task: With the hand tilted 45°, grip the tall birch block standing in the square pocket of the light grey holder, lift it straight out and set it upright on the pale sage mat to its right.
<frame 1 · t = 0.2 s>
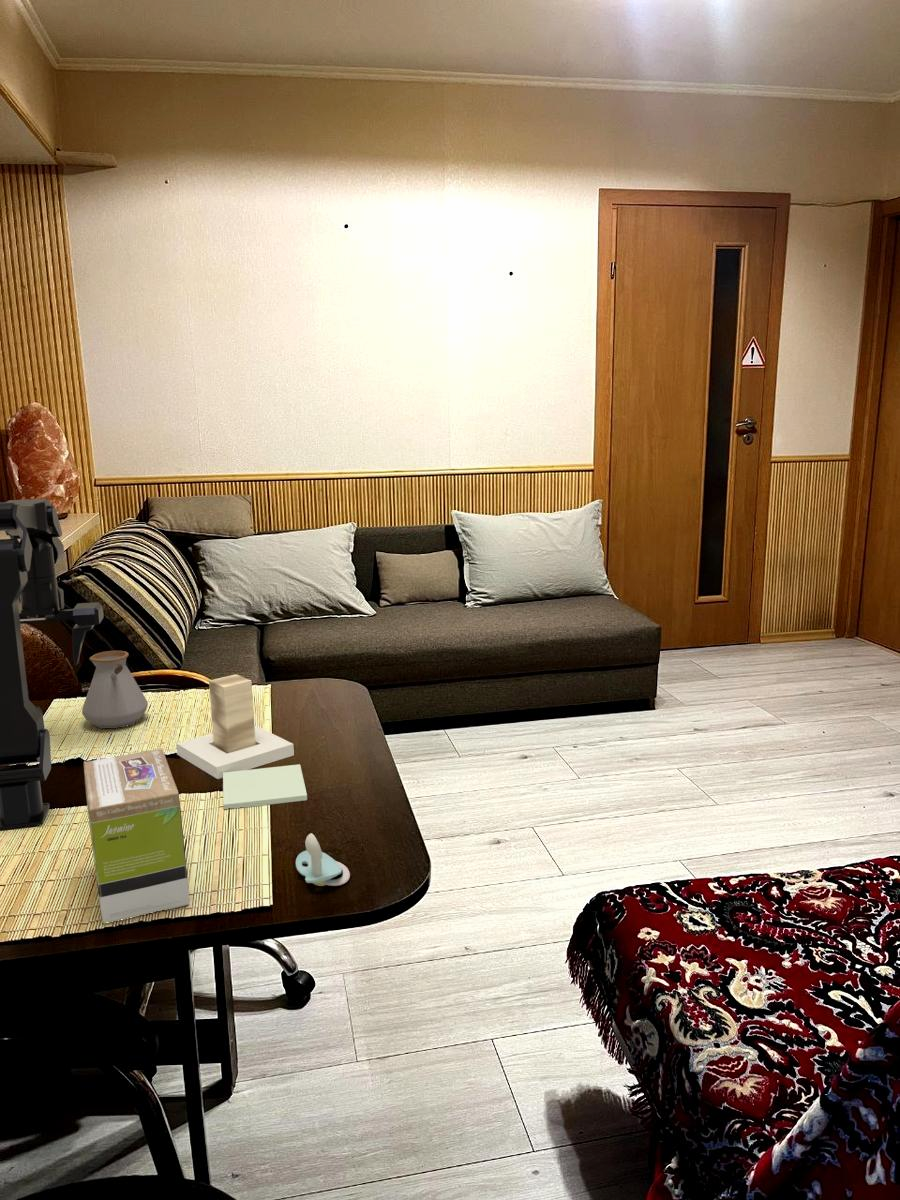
hand: (47, 666, 154), 15 cm above the table, tool pointing down, fingers open, 9 cm apart
coffee pot: (120, 731, 165), on the table
sage mat: (264, 788, 139), on the table
pacifier: (325, 879, 113), on the table
pocket holder: (235, 754, 153), on the table
birch block: (235, 755, 153), resting in pocket holder
tea box: (140, 887, 112), on the table
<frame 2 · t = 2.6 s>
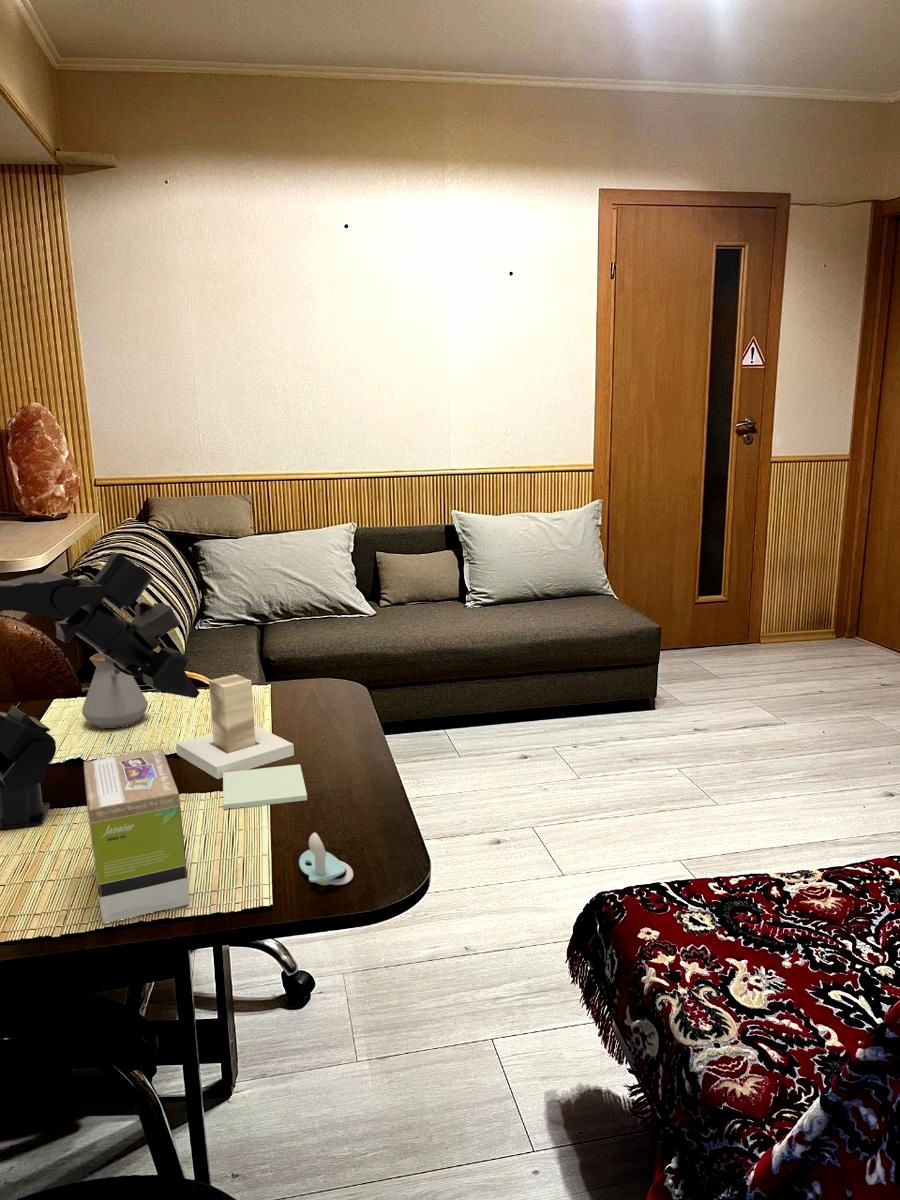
hand: (183, 688, 145), 13 cm above the table, tool tilted 45°, fingers open, 9 cm apart
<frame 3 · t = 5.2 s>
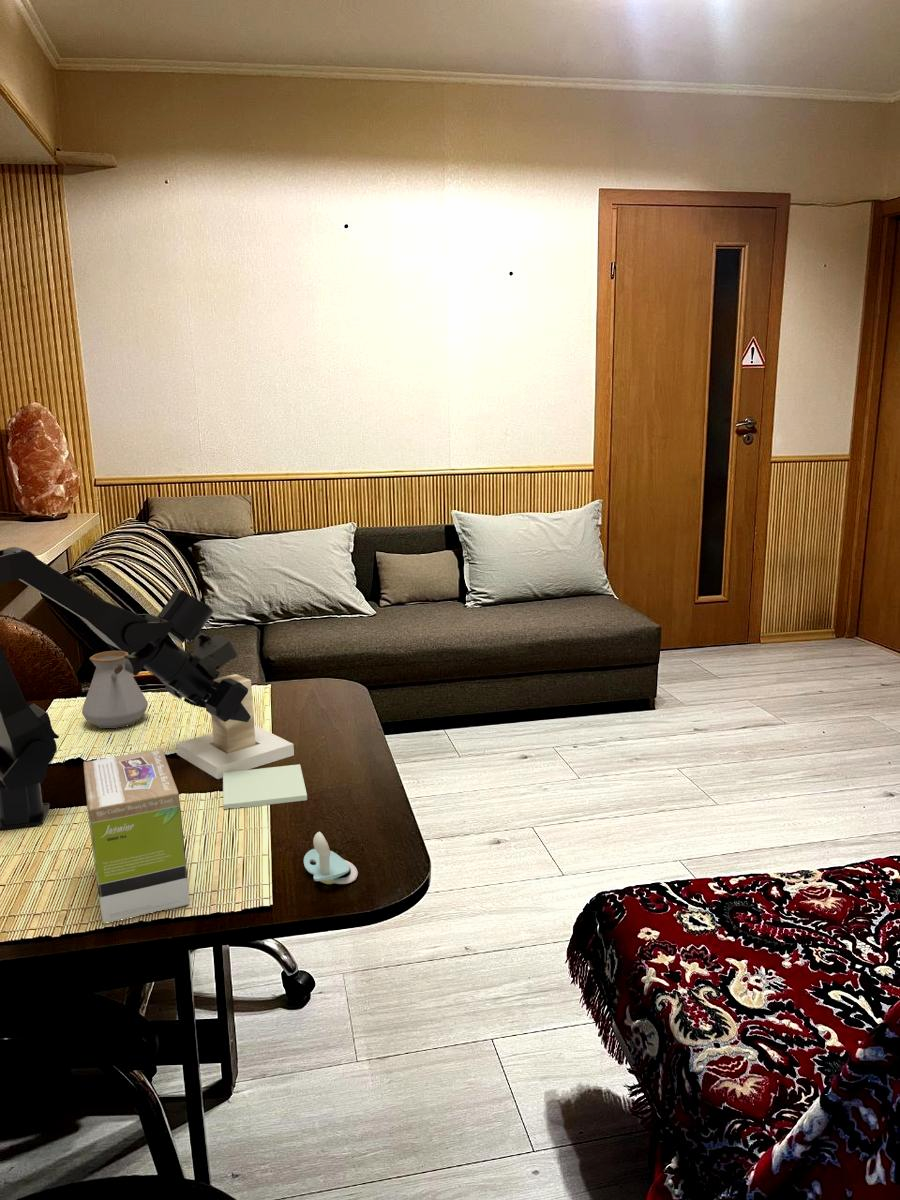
hand: (240, 715, 152), 7 cm above the table, tool tilted 45°, fingers closed on birch block, 5 cm apart
birch block: (235, 754, 153), resting in pocket holder, touching gripper
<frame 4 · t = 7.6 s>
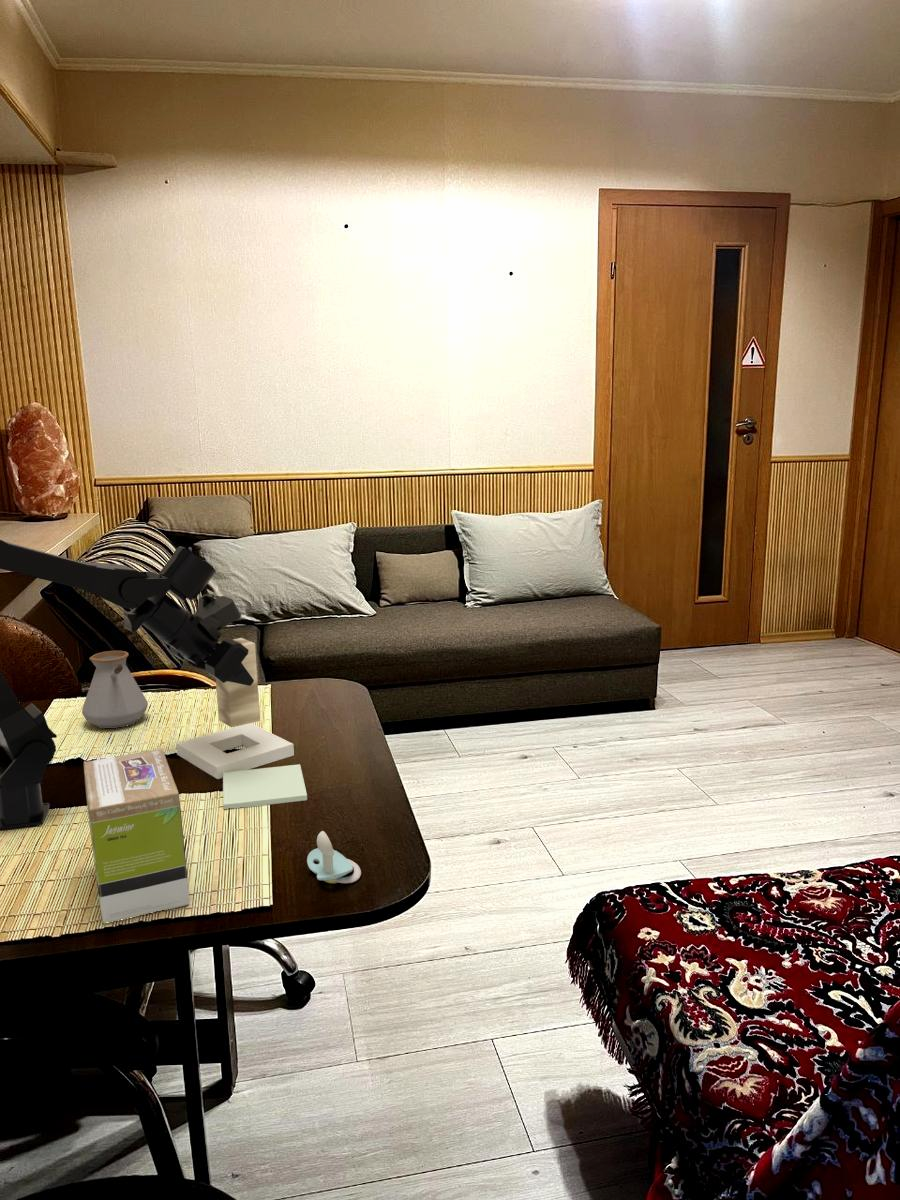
hand: (244, 679, 149), 13 cm above the table, tool tilted 45°, fingers closed on birch block, 5 cm apart
birch block: (239, 720, 149), point 7 cm above the table, touching gripper
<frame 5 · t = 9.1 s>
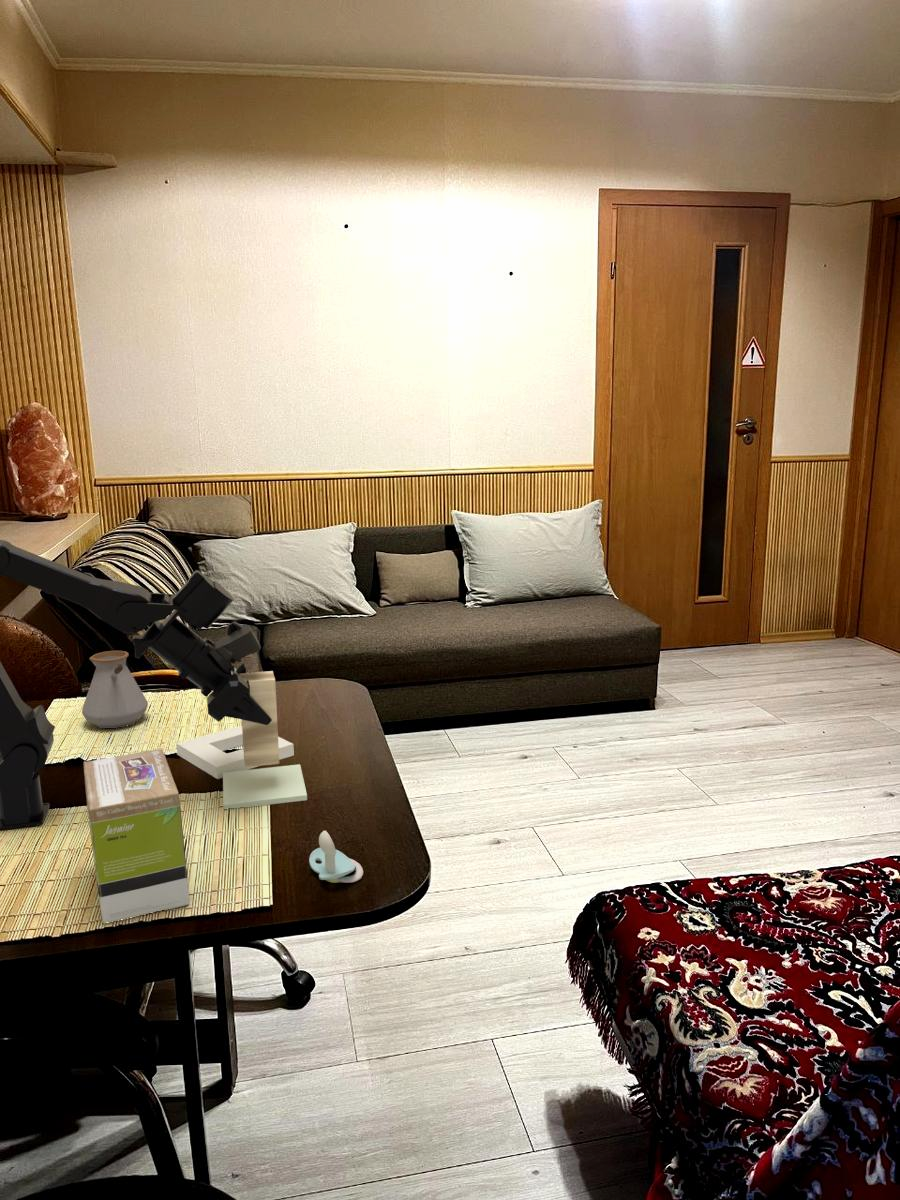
hand: (268, 716, 137), 11 cm above the table, tool tilted 45°, fingers closed on birch block, 5 cm apart
birch block: (261, 759, 138), point 5 cm above the table, touching gripper
when the fingers open (9 cm above the table, at t = 10.0 s): birch block drops 1 cm, resting on sage mat.
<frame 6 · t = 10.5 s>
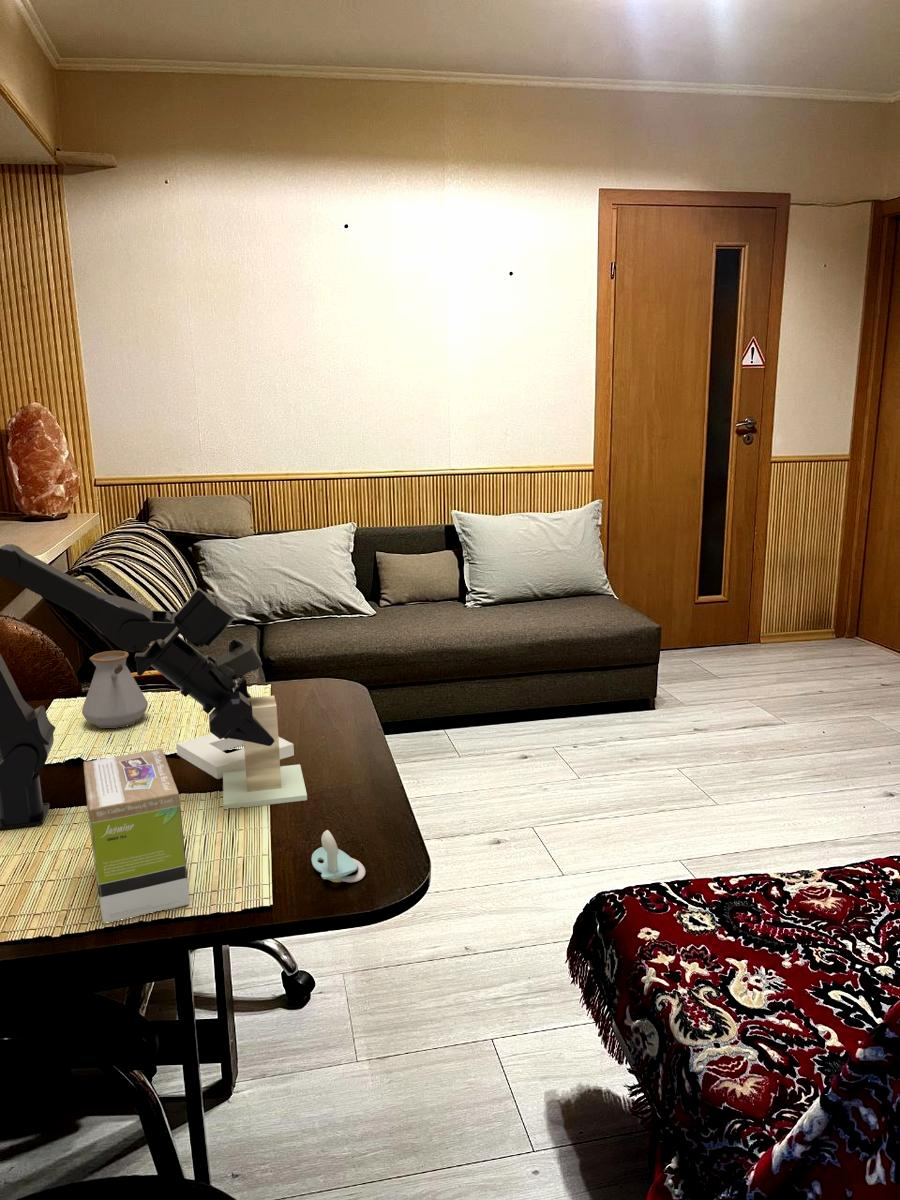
hand: (269, 732, 138), 9 cm above the table, tool tilted 45°, fingers open, 9 cm apart
birch block: (263, 783, 139), point 1 cm above the table, touching sage mat
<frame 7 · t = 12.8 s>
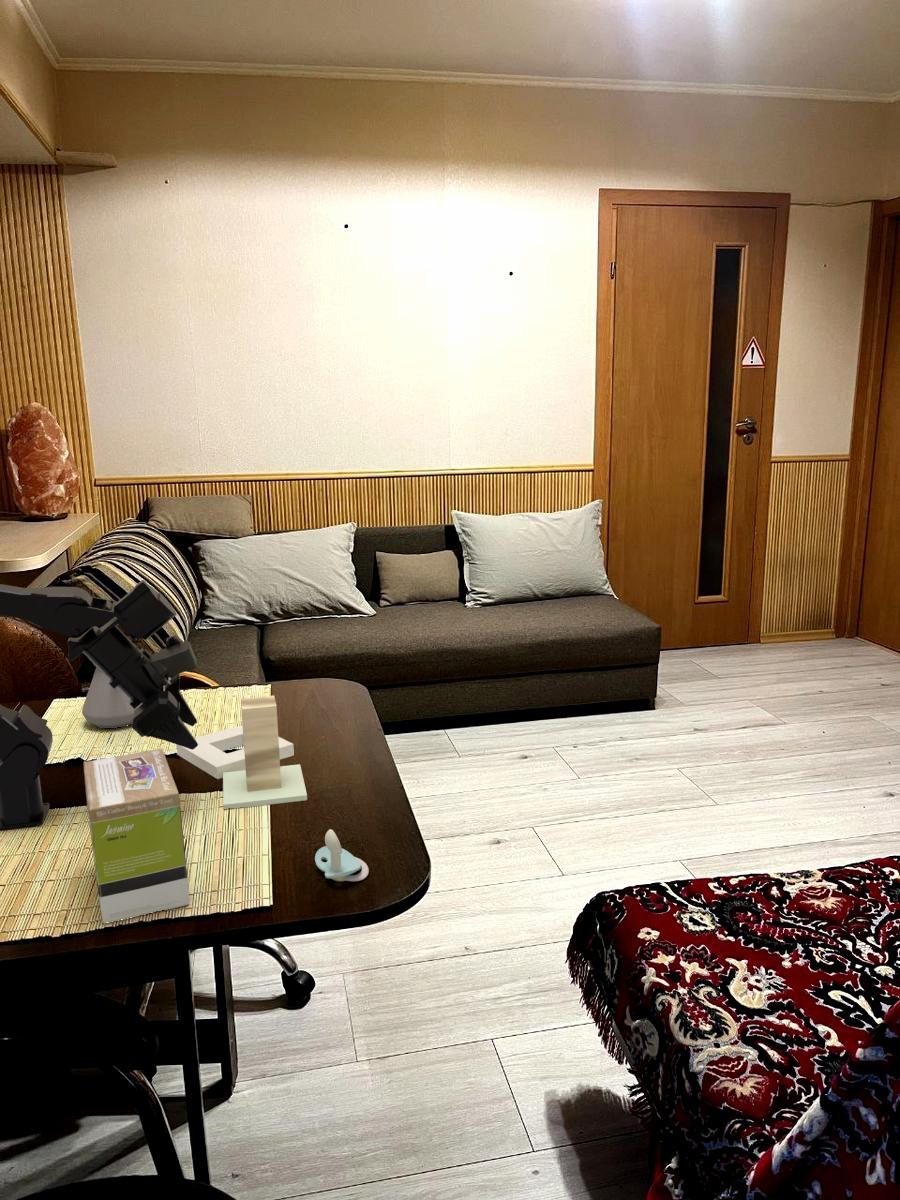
hand: (195, 735, 136), 9 cm above the table, tool tilted 35°, fingers open, 9 cm apart
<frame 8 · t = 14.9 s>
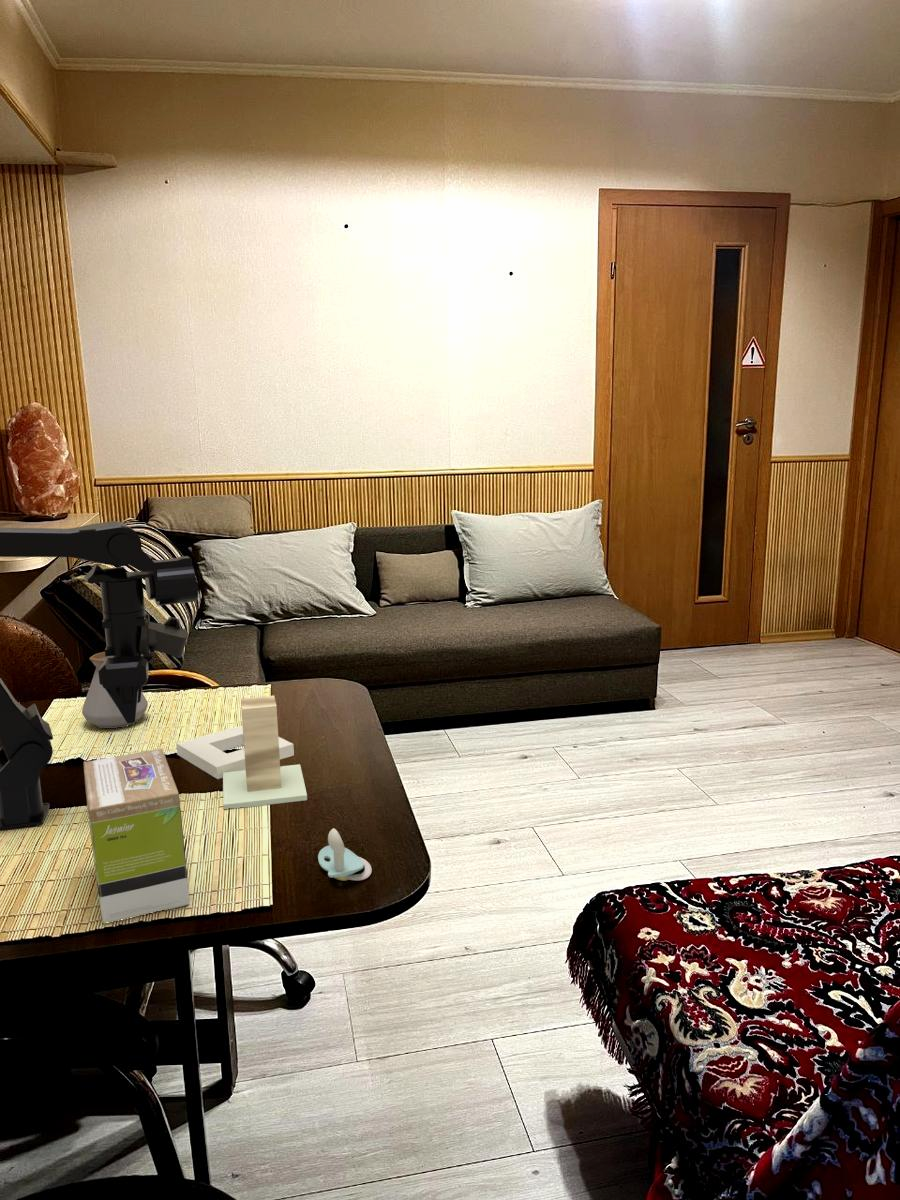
hand: (134, 712, 135), 13 cm above the table, tool pointing down, fingers open, 9 cm apart
at the end: birch block inside the target area on the sage mat (0.0 cm from its centre), point 0.8 cm above the sage mat's base; birch block tilted 0°; the gripper is holding nothing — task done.
